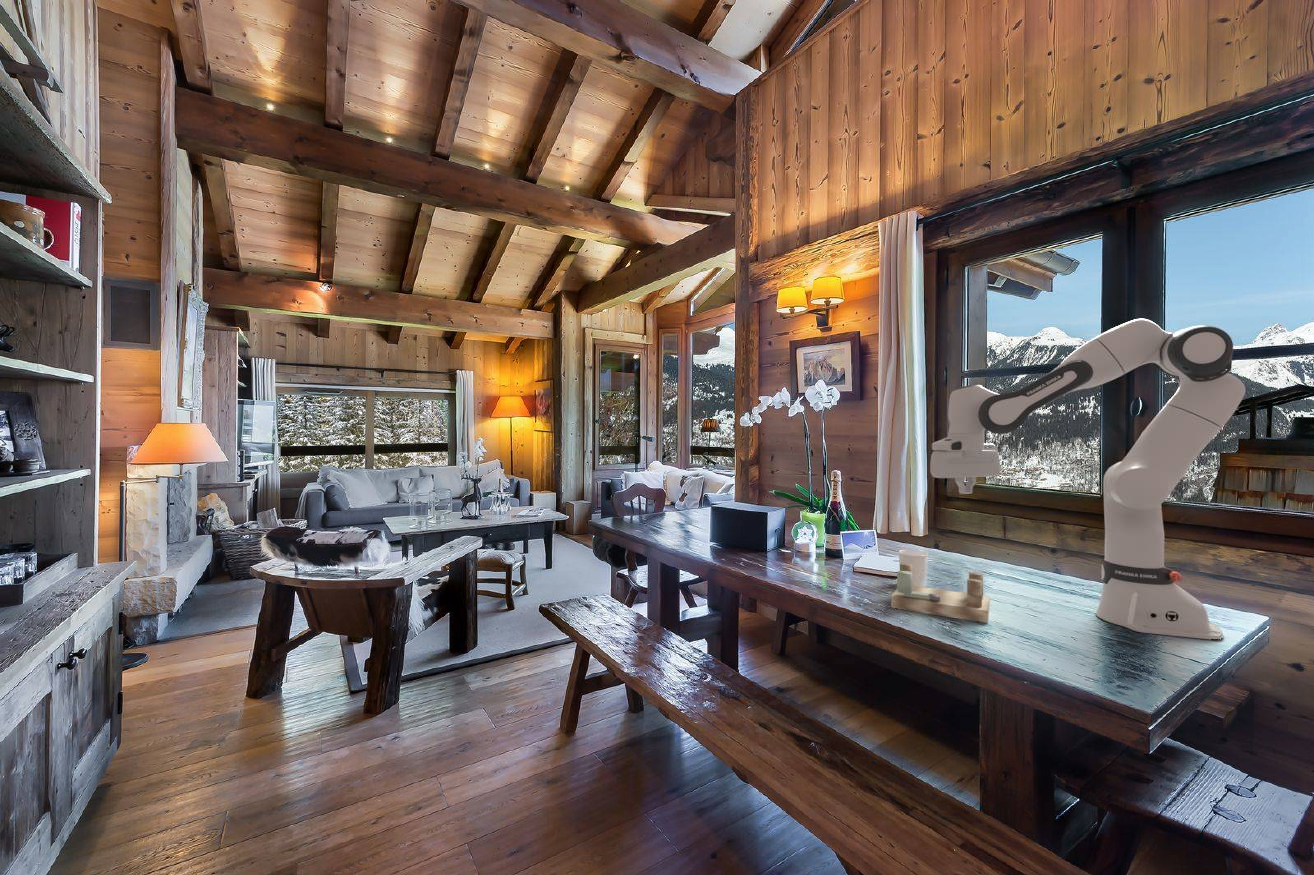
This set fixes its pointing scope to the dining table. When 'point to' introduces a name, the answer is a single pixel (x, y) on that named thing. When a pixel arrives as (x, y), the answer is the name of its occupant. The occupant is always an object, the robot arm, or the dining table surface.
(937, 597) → the folding leg
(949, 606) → the wooden base with posts
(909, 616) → the dining table surface
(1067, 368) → the robot arm
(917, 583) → the white cup
